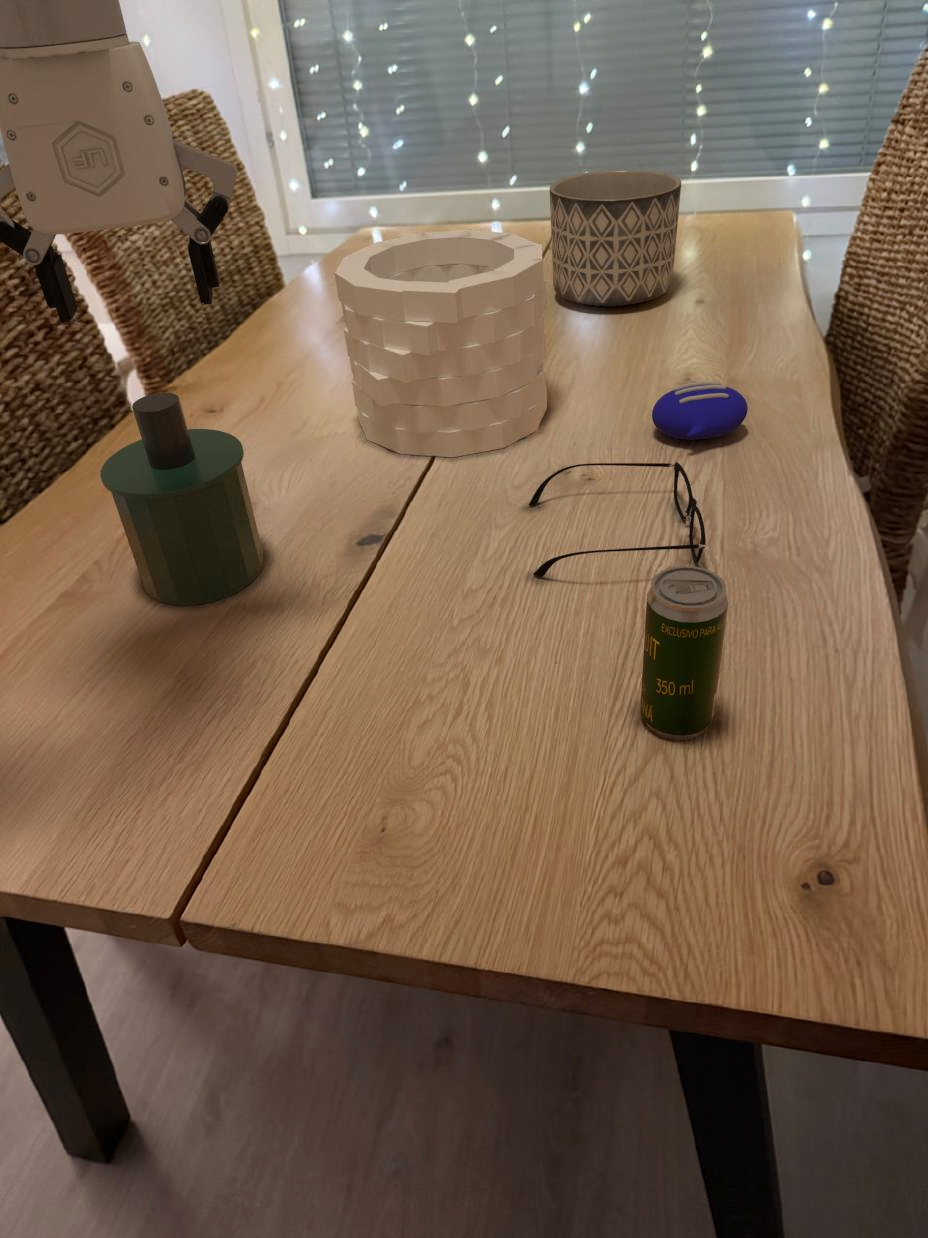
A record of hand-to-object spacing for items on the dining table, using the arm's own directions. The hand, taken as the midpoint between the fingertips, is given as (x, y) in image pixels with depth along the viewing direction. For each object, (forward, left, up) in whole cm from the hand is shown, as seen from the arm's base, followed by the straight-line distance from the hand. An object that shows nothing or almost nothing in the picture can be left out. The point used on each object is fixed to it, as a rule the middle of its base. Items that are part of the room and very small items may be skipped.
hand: (139, 307), depth 66 cm
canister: (-7, +7, -28) cm, 30 cm away
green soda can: (+40, -2, -28) cm, 49 cm away
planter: (+15, +92, -28) cm, 97 cm away
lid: (-7, +7, -17) cm, 20 cm away
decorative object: (+35, +45, -28) cm, 64 cm away
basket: (+5, +45, -28) cm, 54 cm away
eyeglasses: (+30, +22, -28) cm, 47 cm away
